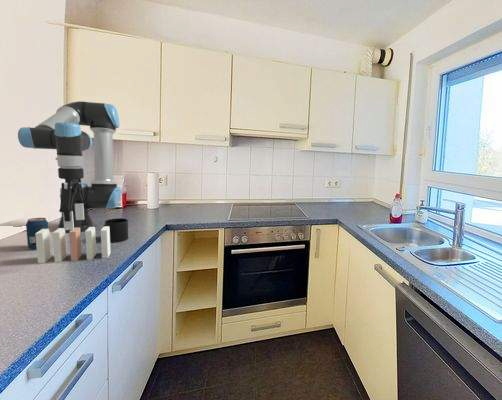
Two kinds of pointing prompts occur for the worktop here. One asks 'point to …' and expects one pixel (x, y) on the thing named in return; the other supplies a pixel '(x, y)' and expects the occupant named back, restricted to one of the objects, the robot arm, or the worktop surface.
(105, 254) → the domino
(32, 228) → the soda can
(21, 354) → the worktop surface
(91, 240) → the domino
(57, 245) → the domino
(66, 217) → the robot arm
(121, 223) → the mug
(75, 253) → the domino
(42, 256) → the domino
